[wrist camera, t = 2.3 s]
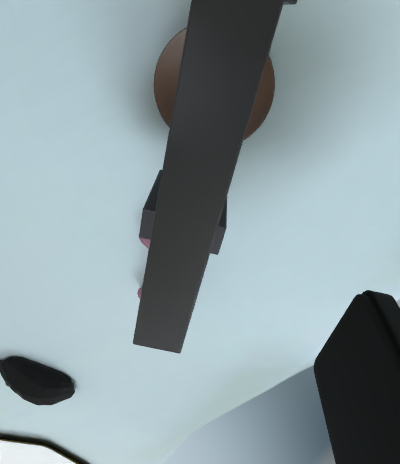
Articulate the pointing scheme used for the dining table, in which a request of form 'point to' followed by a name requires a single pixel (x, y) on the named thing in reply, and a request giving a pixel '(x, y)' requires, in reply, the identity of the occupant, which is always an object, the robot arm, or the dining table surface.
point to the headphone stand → (168, 81)
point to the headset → (200, 159)
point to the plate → (30, 454)
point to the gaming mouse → (35, 381)
